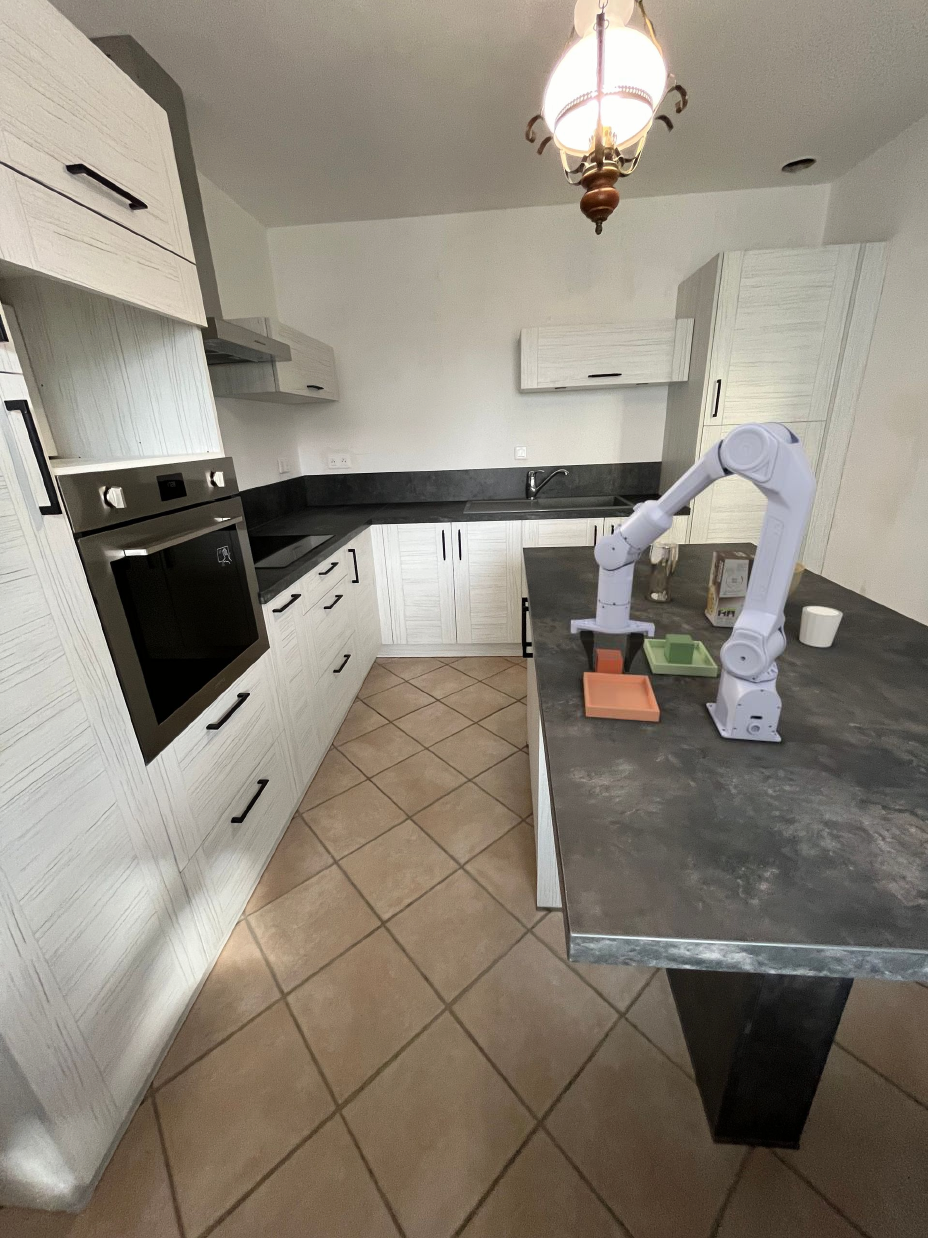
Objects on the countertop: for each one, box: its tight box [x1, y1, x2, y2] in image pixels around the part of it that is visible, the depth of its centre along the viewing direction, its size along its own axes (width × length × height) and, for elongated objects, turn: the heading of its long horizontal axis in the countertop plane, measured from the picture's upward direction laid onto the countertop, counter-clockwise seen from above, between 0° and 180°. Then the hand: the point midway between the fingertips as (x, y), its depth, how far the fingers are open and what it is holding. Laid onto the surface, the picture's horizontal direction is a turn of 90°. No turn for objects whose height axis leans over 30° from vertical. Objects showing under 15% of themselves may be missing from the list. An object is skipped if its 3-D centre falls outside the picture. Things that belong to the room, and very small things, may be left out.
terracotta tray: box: [583, 671, 660, 723], centre depth 83 cm, size 12×11×2 cm
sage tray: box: [642, 638, 719, 678], centre depth 96 cm, size 12×11×2 cm
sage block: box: [664, 633, 695, 664], centre depth 96 cm, size 4×4×4 cm
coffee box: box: [704, 549, 754, 628], centre depth 113 cm, size 9×6×16 cm
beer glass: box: [646, 541, 680, 603], centre depth 129 cm, size 7×7×15 cm
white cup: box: [798, 605, 844, 648], centre depth 102 cm, size 7×7×7 cm
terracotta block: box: [594, 648, 624, 674], centre depth 91 cm, size 4×4×4 cm
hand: (608, 668), depth 92 cm, fingers open, 6 cm apart
